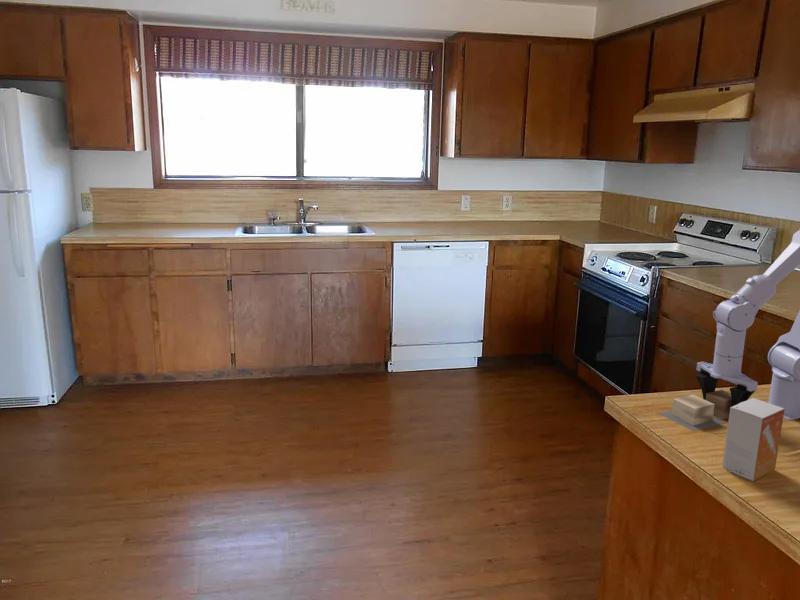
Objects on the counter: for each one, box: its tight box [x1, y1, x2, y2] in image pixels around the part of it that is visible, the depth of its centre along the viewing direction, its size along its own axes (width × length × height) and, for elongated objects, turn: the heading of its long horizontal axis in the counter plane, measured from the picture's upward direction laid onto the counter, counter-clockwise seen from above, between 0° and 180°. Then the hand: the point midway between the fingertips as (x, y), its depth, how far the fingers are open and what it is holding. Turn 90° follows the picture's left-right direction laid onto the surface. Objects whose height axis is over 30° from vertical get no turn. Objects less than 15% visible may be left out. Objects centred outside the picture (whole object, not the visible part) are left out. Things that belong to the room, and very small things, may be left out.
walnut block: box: [706, 389, 732, 421], centre depth 147 cm, size 5×5×5 cm
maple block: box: [671, 394, 715, 425], centre depth 144 cm, size 6×6×4 cm
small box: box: [721, 397, 785, 482], centre depth 122 cm, size 8×6×13 cm
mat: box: [658, 409, 727, 432], centre depth 145 cm, size 10×10×1 cm
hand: (721, 409), depth 147 cm, fingers open, 7 cm apart
